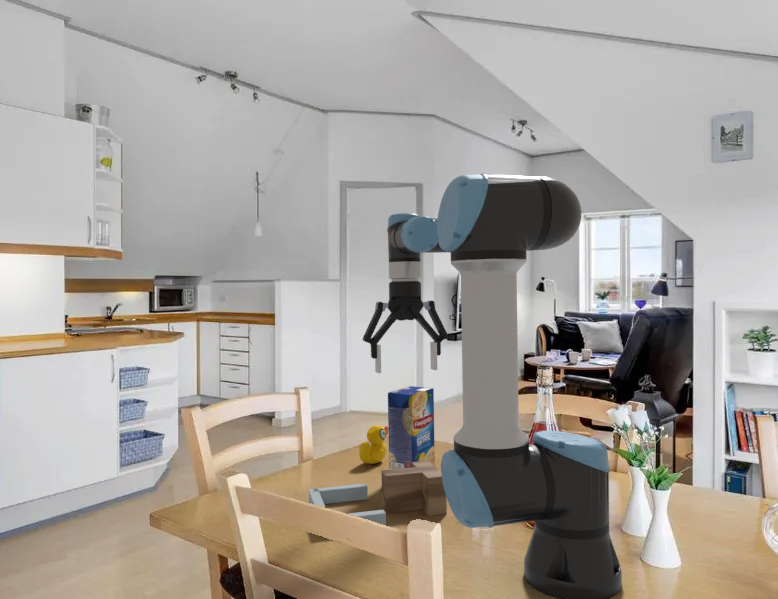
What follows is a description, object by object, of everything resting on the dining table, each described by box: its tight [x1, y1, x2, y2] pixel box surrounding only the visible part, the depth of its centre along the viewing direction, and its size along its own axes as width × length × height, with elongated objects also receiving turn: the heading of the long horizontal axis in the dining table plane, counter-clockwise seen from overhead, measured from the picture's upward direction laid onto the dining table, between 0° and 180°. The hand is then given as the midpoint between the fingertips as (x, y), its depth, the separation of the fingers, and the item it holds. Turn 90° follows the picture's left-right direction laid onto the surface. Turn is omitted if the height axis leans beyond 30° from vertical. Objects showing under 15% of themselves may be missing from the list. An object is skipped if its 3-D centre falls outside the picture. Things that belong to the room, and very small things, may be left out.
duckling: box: [358, 424, 389, 465], centre depth 165 cm, size 11×5×10 cm, turn 143°
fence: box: [308, 483, 387, 526], centre depth 127 cm, size 19×13×3 cm
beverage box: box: [387, 385, 436, 470], centre depth 151 cm, size 7×11×22 cm, turn 147°
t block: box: [380, 461, 448, 517], centre depth 131 cm, size 12×12×8 cm
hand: (406, 371), depth 142 cm, fingers open, 13 cm apart
